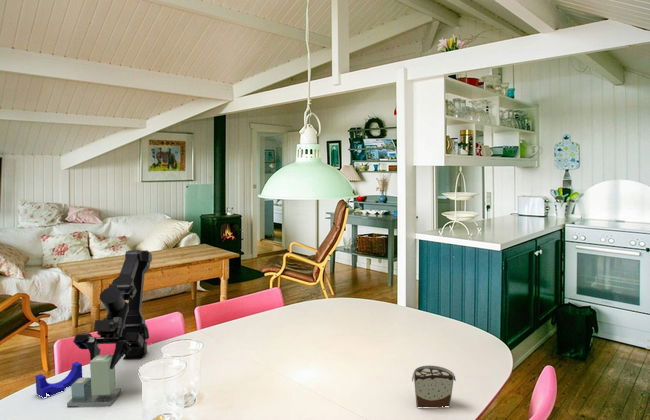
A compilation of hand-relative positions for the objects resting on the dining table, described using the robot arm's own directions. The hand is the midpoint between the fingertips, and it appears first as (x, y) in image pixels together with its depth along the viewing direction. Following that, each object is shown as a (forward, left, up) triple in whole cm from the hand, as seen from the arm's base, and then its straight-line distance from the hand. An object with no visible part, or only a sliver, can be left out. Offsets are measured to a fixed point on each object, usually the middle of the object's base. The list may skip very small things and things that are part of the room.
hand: (101, 369), depth 127 cm
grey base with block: (-2, +1, -9) cm, 10 cm away
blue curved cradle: (-16, +8, -10) cm, 20 cm away
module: (0, +1, -7) cm, 7 cm away
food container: (+95, -6, -10) cm, 96 cm away
